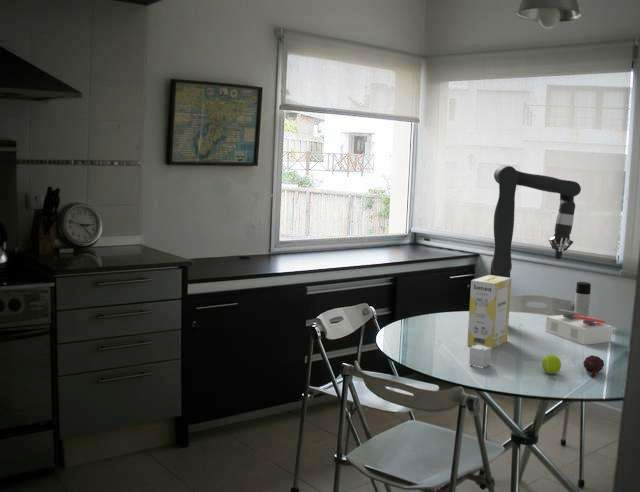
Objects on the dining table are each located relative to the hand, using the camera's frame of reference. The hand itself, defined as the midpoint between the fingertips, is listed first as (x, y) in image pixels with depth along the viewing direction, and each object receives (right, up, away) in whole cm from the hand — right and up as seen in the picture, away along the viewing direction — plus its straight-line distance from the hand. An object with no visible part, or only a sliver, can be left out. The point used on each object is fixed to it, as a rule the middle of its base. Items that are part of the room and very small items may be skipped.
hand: (557, 259), depth 342 cm
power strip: (+4, -35, -15) cm, 38 cm away
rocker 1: (+2, -25, -11) cm, 27 cm away
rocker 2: (+7, -27, -22) cm, 35 cm away
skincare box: (-51, -40, -64) cm, 91 cm away
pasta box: (-40, -36, -31) cm, 62 cm away
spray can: (+15, -32, +10) cm, 36 cm away
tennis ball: (-26, -42, -71) cm, 87 cm away
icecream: (-9, -42, -69) cm, 81 cm away
